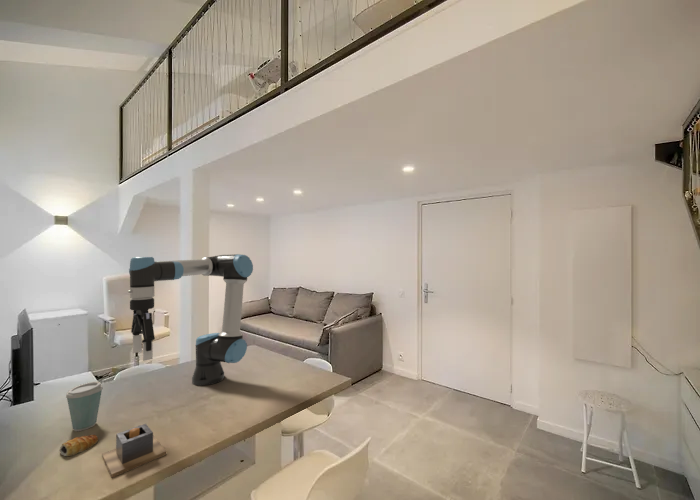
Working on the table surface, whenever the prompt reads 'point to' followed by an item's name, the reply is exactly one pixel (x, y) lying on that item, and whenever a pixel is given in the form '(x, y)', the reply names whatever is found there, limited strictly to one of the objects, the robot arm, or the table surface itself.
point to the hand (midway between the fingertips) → (142, 355)
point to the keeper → (118, 468)
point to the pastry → (78, 445)
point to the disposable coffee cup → (84, 405)
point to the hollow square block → (134, 444)
